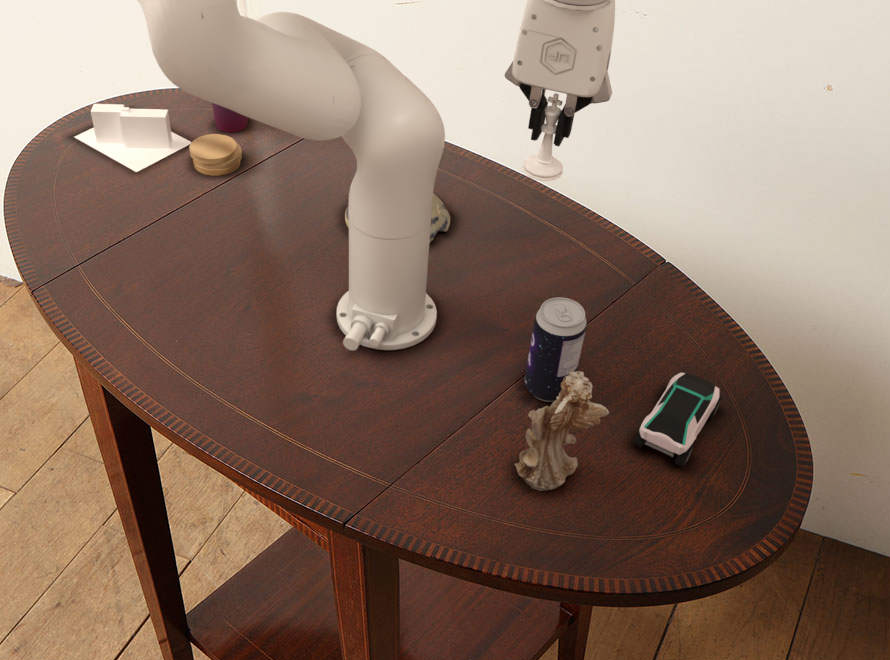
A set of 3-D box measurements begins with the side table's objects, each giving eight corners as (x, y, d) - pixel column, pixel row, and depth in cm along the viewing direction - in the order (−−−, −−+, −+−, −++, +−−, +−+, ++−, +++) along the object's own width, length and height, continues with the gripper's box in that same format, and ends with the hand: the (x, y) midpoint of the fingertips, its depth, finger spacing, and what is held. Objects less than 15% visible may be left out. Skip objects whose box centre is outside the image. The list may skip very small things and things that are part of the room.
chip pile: (228, 181, 145) (226, 163, 143) (183, 170, 147) (180, 152, 145) (250, 155, 150) (248, 138, 148) (206, 145, 152) (204, 128, 150)
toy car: (629, 451, 109) (639, 418, 106) (670, 388, 117) (681, 355, 113) (679, 474, 107) (691, 441, 103) (718, 409, 114) (730, 376, 111)
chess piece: (548, 186, 117) (563, 109, 110) (514, 170, 120) (526, 94, 113) (570, 169, 120) (585, 94, 113) (536, 154, 122) (549, 80, 115)
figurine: (566, 448, 109) (590, 349, 99) (589, 489, 105) (616, 390, 95) (504, 461, 108) (521, 362, 97) (525, 503, 104) (545, 404, 93)
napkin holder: (193, 142, 153) (189, 108, 149) (137, 172, 146) (131, 138, 142) (129, 109, 159) (123, 76, 155) (72, 137, 153) (65, 103, 149)
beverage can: (563, 370, 118) (579, 292, 110) (577, 403, 114) (596, 325, 106) (517, 375, 118) (530, 297, 109) (530, 408, 114) (545, 331, 105)
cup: (234, 140, 154) (226, 48, 143) (201, 127, 156) (190, 36, 146) (262, 121, 158) (255, 31, 147) (228, 109, 160) (220, 19, 150)
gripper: (493, -20, 103) (474, 137, 116) (644, 11, 100) (606, 169, 112) (514, -44, 109) (493, 109, 121) (657, -16, 105) (620, 139, 118)
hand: (548, 136), depth 117 cm, fingers closed on chess piece
